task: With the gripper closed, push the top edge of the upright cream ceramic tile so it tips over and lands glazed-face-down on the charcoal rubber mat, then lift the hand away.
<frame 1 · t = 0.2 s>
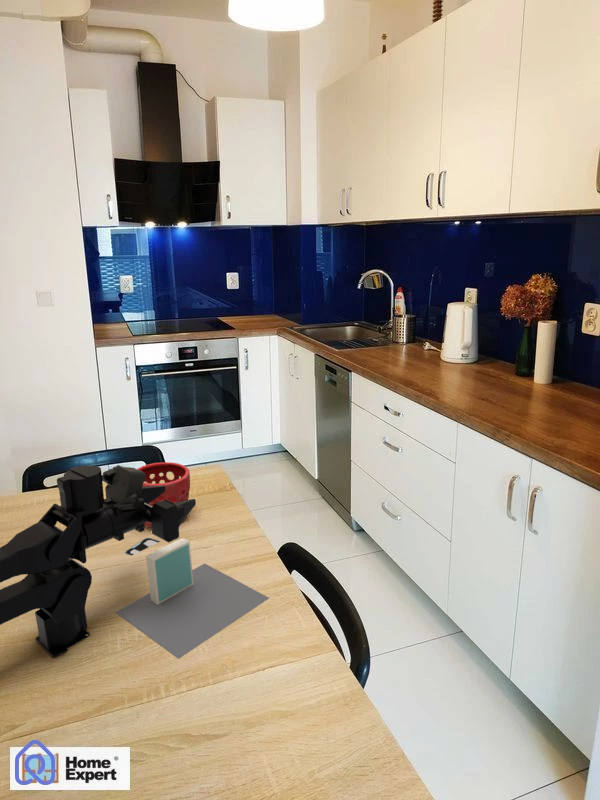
hand: (179, 494, 109), 17 cm above the table, tool horizontal, fingers open, 9 cm apart
smartphone: (162, 558, 120), on the table
plant pot: (165, 520, 135), on the table
mat: (193, 607, 102), on the table
tile: (172, 592, 106), point 1 cm above the table, touching mat
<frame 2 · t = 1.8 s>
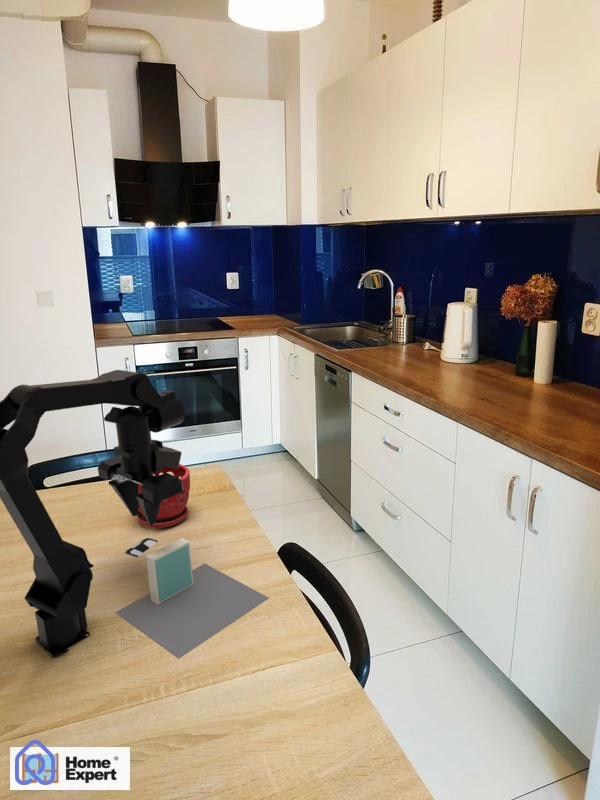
hand: (143, 519, 107), 13 cm above the table, tool pointing down, fingers open, 5 cm apart
nothing on the table moved.
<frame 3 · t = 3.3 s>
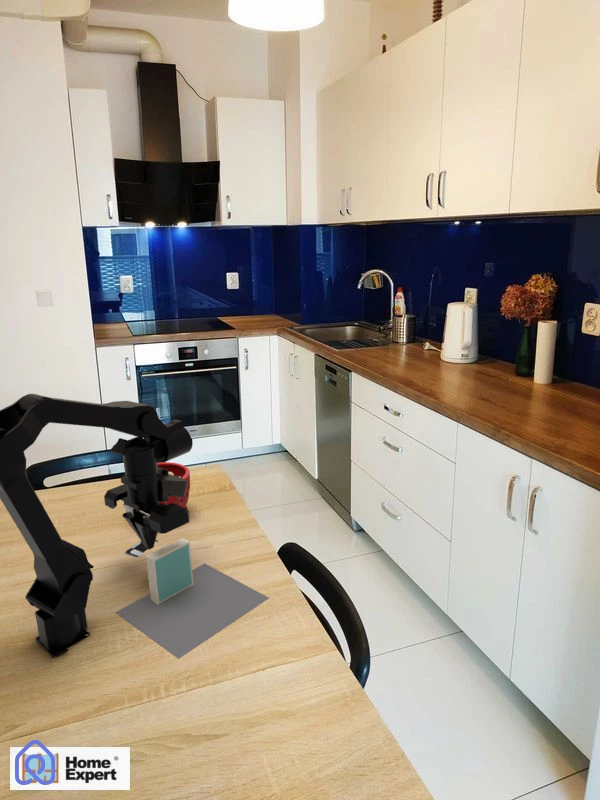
hand: (150, 548, 108), 7 cm above the table, tool pointing down, fingers closed
nothing on the table moved.
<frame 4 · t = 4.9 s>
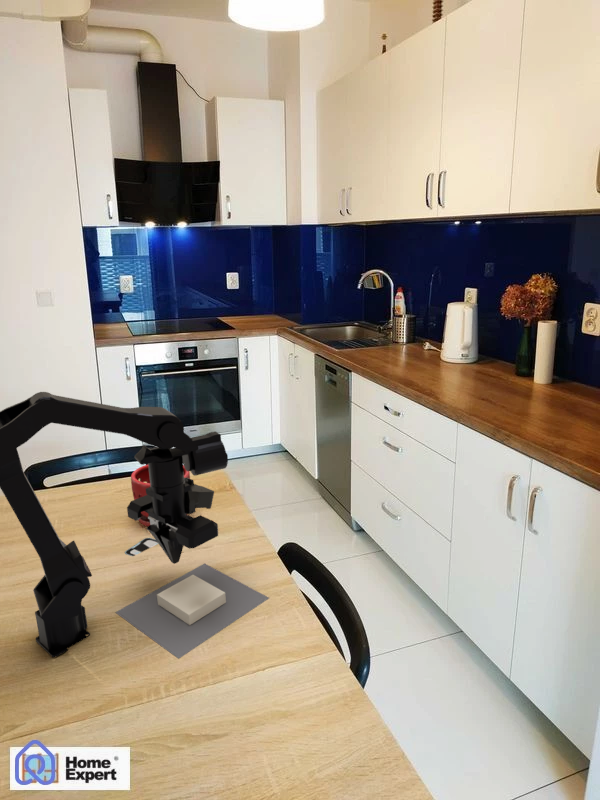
hand: (175, 562, 103), 8 cm above the table, tool pointing down, fingers closed
tile: (175, 589, 105), point 2 cm above the table, tilted 90°, touching mat
everything else where it was.
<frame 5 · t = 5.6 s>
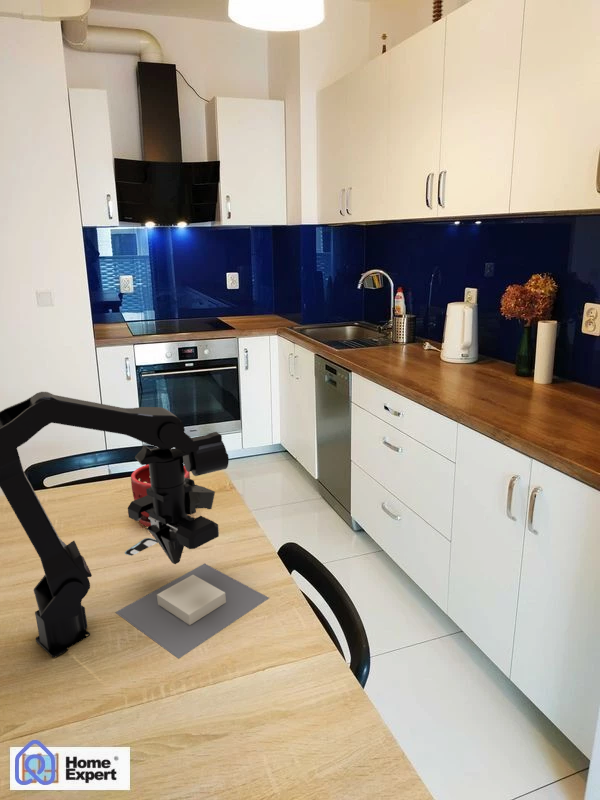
hand: (175, 562, 103), 7 cm above the table, tool pointing down, fingers closed
nothing on the table moved.
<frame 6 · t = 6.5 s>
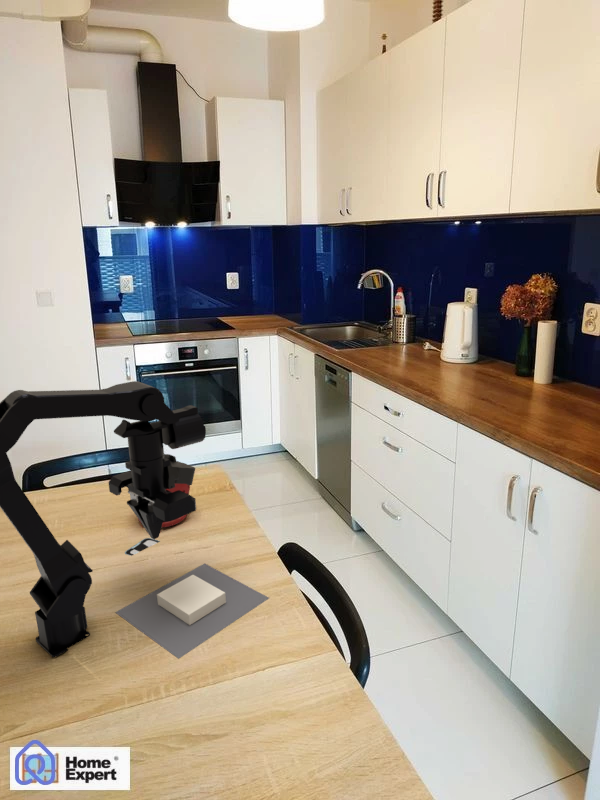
hand: (155, 537, 103), 12 cm above the table, tool pointing down, fingers closed
nothing on the table moved.
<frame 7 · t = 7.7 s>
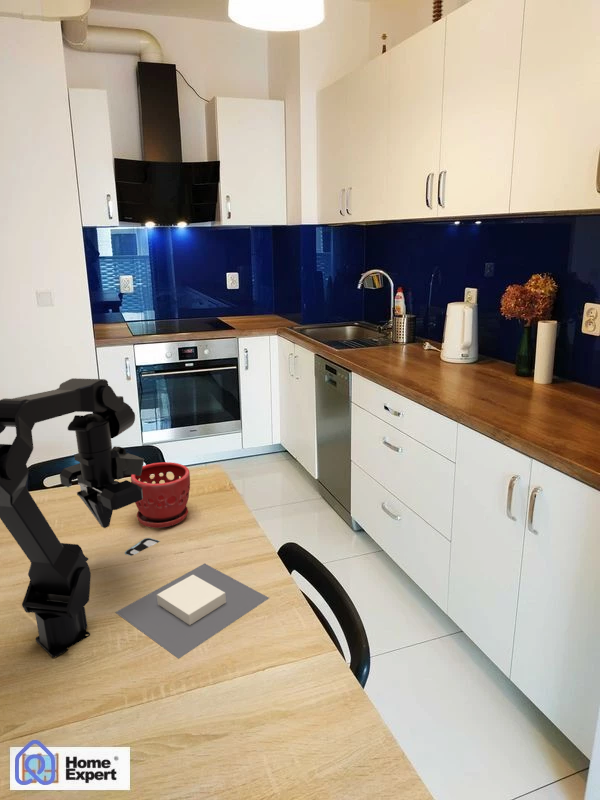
hand: (105, 526, 107), 12 cm above the table, tool pointing down, fingers closed
nothing on the table moved.
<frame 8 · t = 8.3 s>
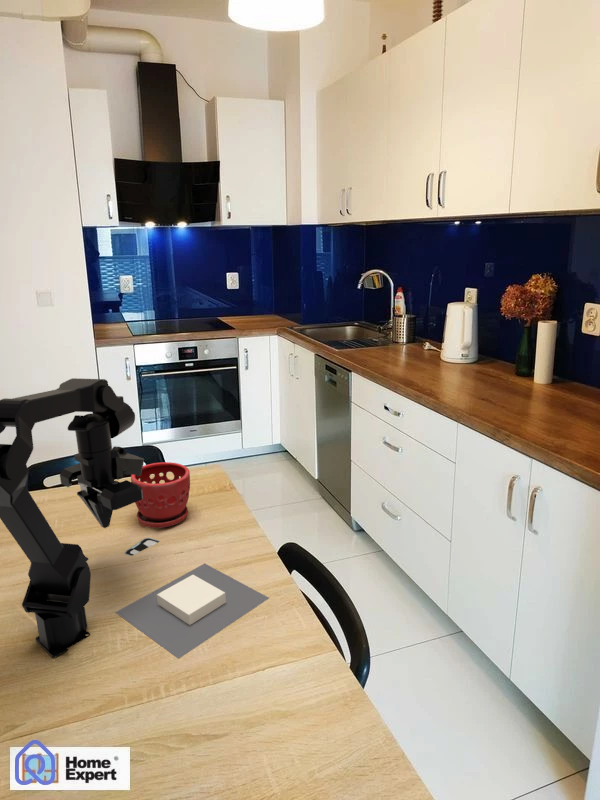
hand: (105, 526, 107), 12 cm above the table, tool pointing down, fingers closed
nothing on the table moved.
at the end: tile tilted 90°; tile inside the target area on the mat (5.7 cm from its centre), point 1.7 cm above the mat's base; tile touching mat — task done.
